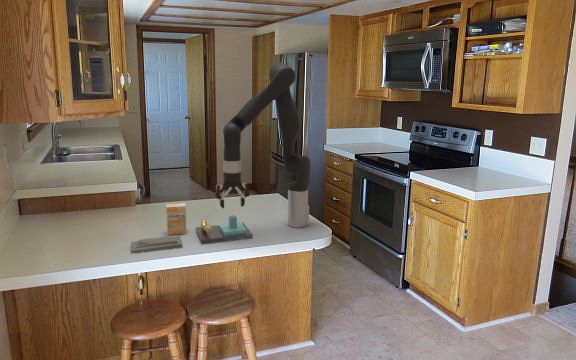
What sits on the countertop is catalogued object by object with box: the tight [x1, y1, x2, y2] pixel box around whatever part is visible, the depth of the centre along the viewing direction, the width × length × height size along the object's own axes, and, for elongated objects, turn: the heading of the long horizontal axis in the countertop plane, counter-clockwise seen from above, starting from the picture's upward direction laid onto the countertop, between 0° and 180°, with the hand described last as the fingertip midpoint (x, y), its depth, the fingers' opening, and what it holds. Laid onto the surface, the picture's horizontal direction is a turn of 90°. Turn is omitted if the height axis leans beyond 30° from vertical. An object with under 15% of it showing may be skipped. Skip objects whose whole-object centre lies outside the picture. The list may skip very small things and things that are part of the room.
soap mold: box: [130, 235, 184, 254], centre depth 193 cm, size 10×20×4 cm, turn 110°
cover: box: [219, 214, 247, 236], centre depth 205 cm, size 10×10×6 cm
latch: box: [200, 219, 212, 233], centre depth 202 cm, size 10×2×4 cm, turn 25°
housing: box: [195, 222, 253, 245], centre depth 206 cm, size 22×16×2 cm
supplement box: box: [166, 202, 187, 236], centre depth 207 cm, size 8×5×13 cm, turn 105°
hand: (232, 207), depth 203 cm, fingers open, 8 cm apart
